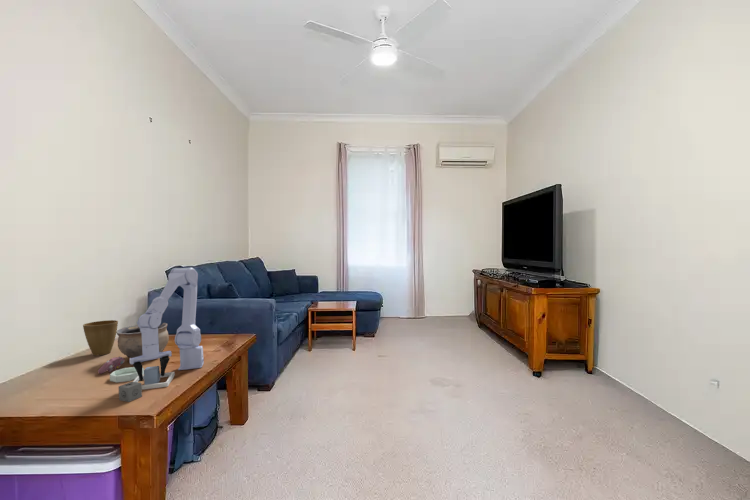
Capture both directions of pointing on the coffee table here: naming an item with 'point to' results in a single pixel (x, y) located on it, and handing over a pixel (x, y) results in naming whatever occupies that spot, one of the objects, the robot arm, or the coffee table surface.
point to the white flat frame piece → (158, 385)
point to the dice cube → (130, 391)
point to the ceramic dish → (124, 374)
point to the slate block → (151, 375)
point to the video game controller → (111, 365)
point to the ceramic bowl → (138, 340)
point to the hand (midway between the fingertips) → (152, 378)
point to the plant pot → (100, 336)
